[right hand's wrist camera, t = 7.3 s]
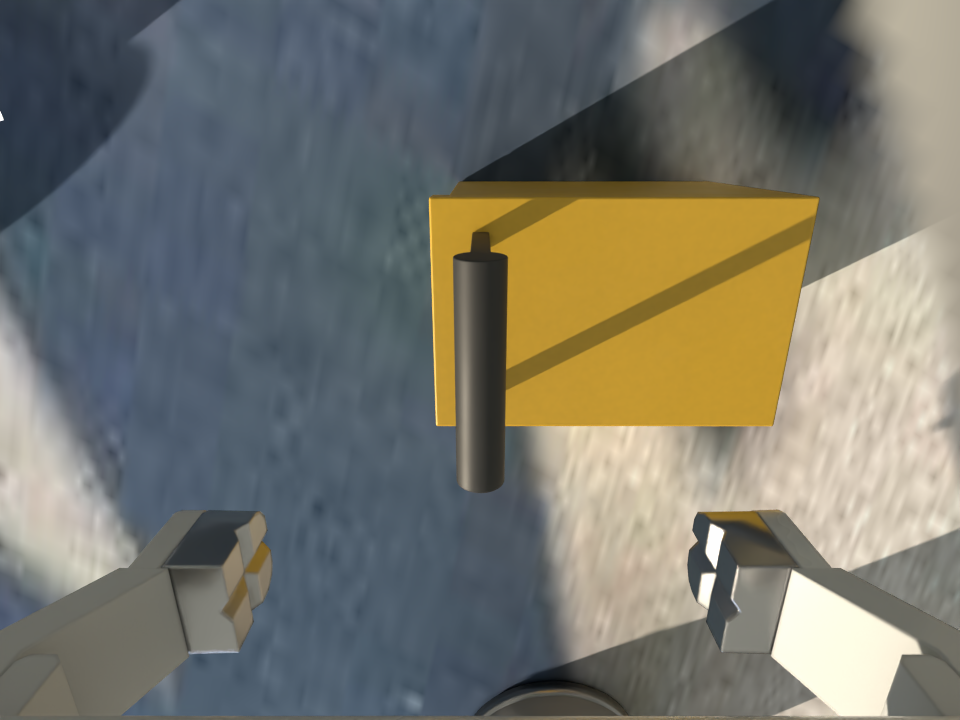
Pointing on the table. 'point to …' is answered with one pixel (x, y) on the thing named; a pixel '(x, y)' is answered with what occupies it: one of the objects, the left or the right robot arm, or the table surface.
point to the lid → (610, 312)
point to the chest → (607, 188)
